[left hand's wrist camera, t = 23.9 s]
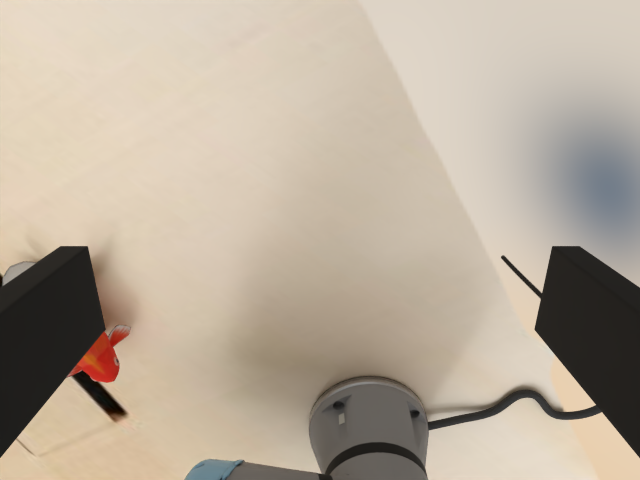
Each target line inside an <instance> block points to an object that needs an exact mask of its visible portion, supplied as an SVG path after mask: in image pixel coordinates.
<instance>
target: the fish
mask: <svg viewBox="0 0 640 480" xmlns="http://www.w3.org/2000/svg"><path fill="white" fill-rule="evenodd" d="M34 264H36V263H35V262H21V263H18V264H15V265H12V266H10V267H9V269H8V270H7V271H6V273H5V275H4V277H3V283H2V286H3V285H5V284H6V283H8V282H9V281H11V280H12V279H14V278H15V277H17V276H18V275H19V274H21V273H22V272H24V271H25V270H27V269H28V268H30V267H31V266H33V265H34ZM130 329H131V328H130V327H128V326H124V325H117V326H116V327H115V328H114V329H113V330H112V331H111V333H110V334H109V336H107V335H106V333H105V332H103V333H102V334H101V336H100V337H99V338H98V339H97V341H96V342H95V343H94V344H93V345H92V347H91V348H90V349H89V350H88V352H87V353H86V354H85V355H84V356H83V358H82V359H81V360H80V361H79V362H78V364H77V365H76V366H75V367H74V369H73V370H72V371H71V372H70V373H69V375H68V376H67V377H70V376H72V375H74V374H76V373H78V372H80V371H82V370H83V371H84V372H86V373H87V374H88V375H90V377H91V379H92V380H94V381H100V382H106V383H108V382H112V381H114V380H115V379H116V377H117V375H118V372H119V361H118V359H117V356H116V354H115V351H114V348H113V347H114V346H115V345H116V344H117V343H119V342H120V341H122V340H123V339H124V338H126V337H127V336H128V335H129V331H130ZM67 377H66V378H67Z"/></svg>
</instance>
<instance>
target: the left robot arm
mask: <svg viewBox="0 0 640 480" xmlns="http://www.w3.org/2000/svg"><path fill="white" fill-rule="evenodd" d="M501 259H502V260H503V261H504V262H505V263H506V264H507V265H508V266H509V267H510V268H511V269H512V271H513V272H514V273H515V274H516V275H517V276H518V277H519V278H520V279H521V280H522V281H523V282H524V283H525V284H526V285H527V286H528V287H529V288H530V289H531V290H532V291H533V292H534V293H535V294H536V295H537V296H538V297H539V298H540V299H541V302H540V306H539V311H538V316H537V320H536V325H535V331H536V332H537V333H538V334H539V336H540V337H541V338H542V339H543V341H544V342H545V343H546V344H547V345H548V347H549V348H550V349H551V350H552V352H553V353H554V354H555V355H556V356H557V358H558V359H559V360H560V361H561V362H562V364H563V365H564V366H565V367H566V369H567V370H568V371H569V372H570V373H571V375H572V376H573V377H574V378H575V380H576V381H577V382H578V383H579V384H580V386H581V387H582V388H583V389H584V391H585V392H586V393H587V394H588V395H589V397H590V398H591V399H592V400H593V401H594V403H595V404H596V405H595V406H593V407H591V408H588V409H585V410H580V411H574V412H557V411H555V410H553V409H552V408H551V407H550V406H549V405H548V403H547V402H546V400H545V399H544V398H543V397H542V396H541V395H540V394H539V393H537V392H535V391H532V390H520V391H517V392H514V393H512V394H511V395H509V396H508V397H506V398H505V399H504V400H503V401H501V402H500V403H499V404H497V405H496V406H494V407H492V408H489V409H486V410H483V411H479V412H475V413H469V414H464V415H459V416H454V417H450V418H445V419H441V420H436V421H432V422H428V421H427V417H426V414H425V410H424V407H423V405H422V403H421V401H420V400H419V398H418V397H417V396H416V395H415V393H414V392H412V391H411V390H410V389H409V388H407V387H406V386H404V385H402V384H401V383H398V382H396V381H394V380H391V379H387V378H382V377H358V378H353V379H349V380H346V381H343V382H341V383H339V384H337V385H335V386H333V387H331V388H330V389H328V390H327V391H326V392H325V393H324V394H323V395H322V396H321V397H320V398H319V399H318V400H317V402H316V403H315V405H314V407H313V409H312V411H311V415H310V421H309V436H310V442H311V446H312V449H313V452H314V454H315V457H316V460H317V462H318V465H319V467H320V470H321V473H322V474H318V473H313V472H306V471H299V470H292V469H286V468H279V467H273V466H267V465H260V464H254V463H248V462H245V461H244V460H237V461H225V460H214V459H208V460H204V461H201V462H200V463H198V464H197V465H196V466H194V467H193V468H192V470H191V471H190V472H189V473H188V475H187V476H186V478H185V479H184V480H428V478H427V474H426V470H425V464H426V454H427V445H428V435H429V430H432V429H437V428H441V427H446V426H451V425H455V424H459V423H464V422H469V421H475V420H480V419H484V418H487V417H490V416H493V415H496V414H498V413H500V412H501V411H503V410H504V409H506V408H507V407H508V406H510V405H511V404H512V403H513V402H515V401H517V400H519V399H521V398H533V399H535V400H536V401H537V402H538V403H539V404H540V406H541V407H542V409H543V410H544V411H545V412H546V413H547V414H548V415H549V416H551V417H553V418H556V419H561V420H573V419H582V418H586V417H590V416H593V415H596V414H598V413H601V412H603V414H604V415H605V416H606V417H607V419H608V420H609V421H610V422H611V423H612V425H613V426H614V427H615V428H616V429H617V431H618V432H619V433H620V434H621V436H622V437H623V438H624V439H625V440H626V442H627V443H628V444H629V445H630V447H631V448H632V449H633V450H634V451H635V453H636V454H637V455H638V456H639V458H640V288H639V287H638V286H636V285H635V284H634V283H632V282H631V281H629V280H628V279H626V278H625V277H623V276H622V275H620V274H619V273H618V272H616V271H615V270H613V269H612V268H610V267H609V266H607V265H606V264H604V263H603V262H602V261H600V260H599V259H597V258H596V257H594V256H593V255H591V254H590V253H588V252H587V251H586V250H584V249H583V248H581V247H580V246H553V247H552V250H551V255H550V260H549V264H548V269H547V274H546V278H545V283H544V288H543V292H542V293H541V292H540V291H539V290H538V289H537V288H536V287H535V286H534V285H533V284H532V283H531V282H530V281H529V280H528V279H527V278H526V277H525V276H524V275H523V274H522V273H521V272H520V271H519V270H518V269H517V268H516V267H515V266H514V265H513V264H512V263H511V262H510V261H509V260H508V259H507V258H506V257H505V256H504V255H502V256H501ZM104 331H105V325H104V320H103V316H102V311H101V306H100V302H99V297H98V292H97V288H96V283H95V278H94V274H93V269H92V264H91V260H90V255H89V250H88V246H60V247H59V248H57V249H56V250H54V251H53V252H52V253H50V254H49V255H47V256H46V257H44V258H43V259H41V260H40V261H38V262H37V263H36V264H34V265H33V266H31V267H30V268H28V269H27V270H25V271H24V272H22V273H21V274H19V275H18V276H17V277H15V278H14V279H12V280H11V281H9V282H8V283H6V284H5V285H3V286H2V287H1V288H0V458H1V456H2V455H3V454H4V453H5V451H6V450H7V449H8V448H9V447H10V445H11V444H12V443H13V442H14V440H15V439H16V438H17V437H18V436H19V434H20V433H21V432H22V431H23V430H24V428H25V427H26V426H27V425H28V423H29V422H30V421H31V420H32V419H33V417H34V416H35V415H36V414H37V412H38V411H39V410H40V409H41V408H42V406H43V405H44V404H45V403H46V401H47V400H48V399H49V398H50V397H51V395H52V394H53V393H54V392H55V391H56V389H57V388H58V387H59V386H60V384H61V383H62V382H63V381H64V380H65V378H66V377H67V376H68V375H69V373H70V372H71V371H72V370H73V369H74V367H75V366H76V365H77V364H78V362H79V361H80V360H81V359H82V358H83V356H84V355H85V354H86V353H87V352H88V350H89V349H90V348H91V347H92V345H93V344H94V343H95V342H96V341H97V339H98V338H99V337H100V336H101V334H102V333H103V332H104Z"/></svg>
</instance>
